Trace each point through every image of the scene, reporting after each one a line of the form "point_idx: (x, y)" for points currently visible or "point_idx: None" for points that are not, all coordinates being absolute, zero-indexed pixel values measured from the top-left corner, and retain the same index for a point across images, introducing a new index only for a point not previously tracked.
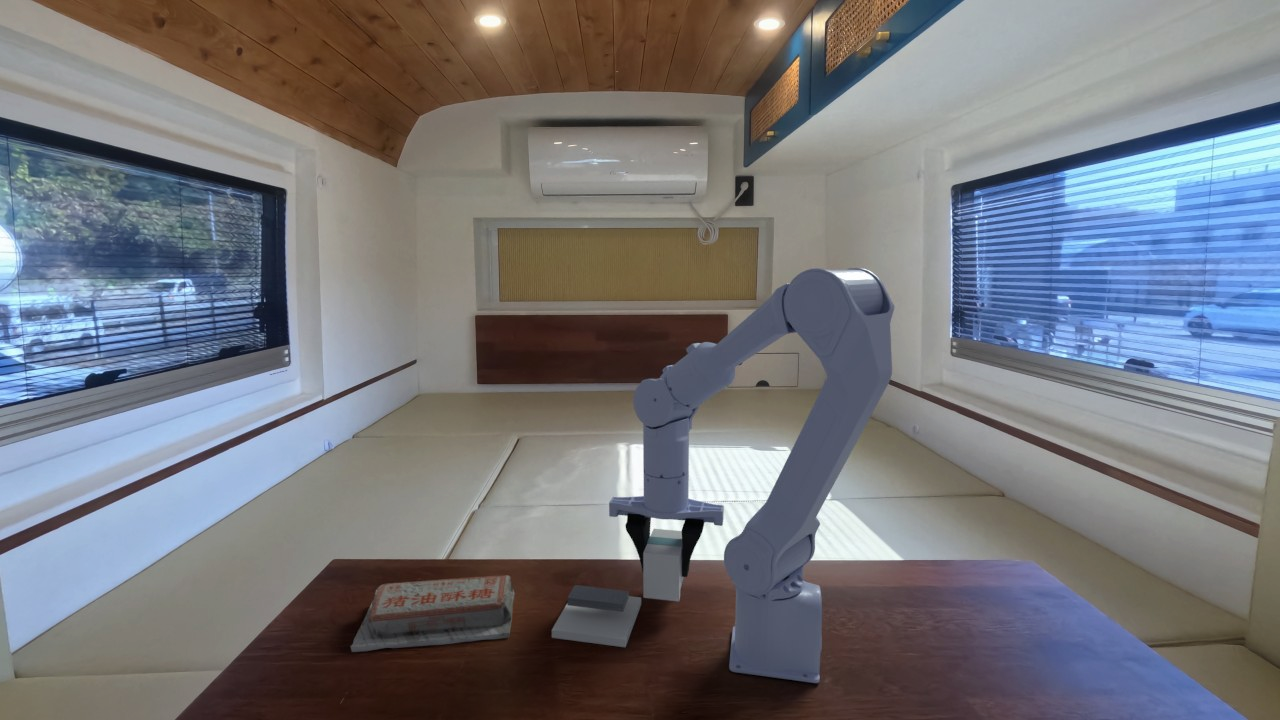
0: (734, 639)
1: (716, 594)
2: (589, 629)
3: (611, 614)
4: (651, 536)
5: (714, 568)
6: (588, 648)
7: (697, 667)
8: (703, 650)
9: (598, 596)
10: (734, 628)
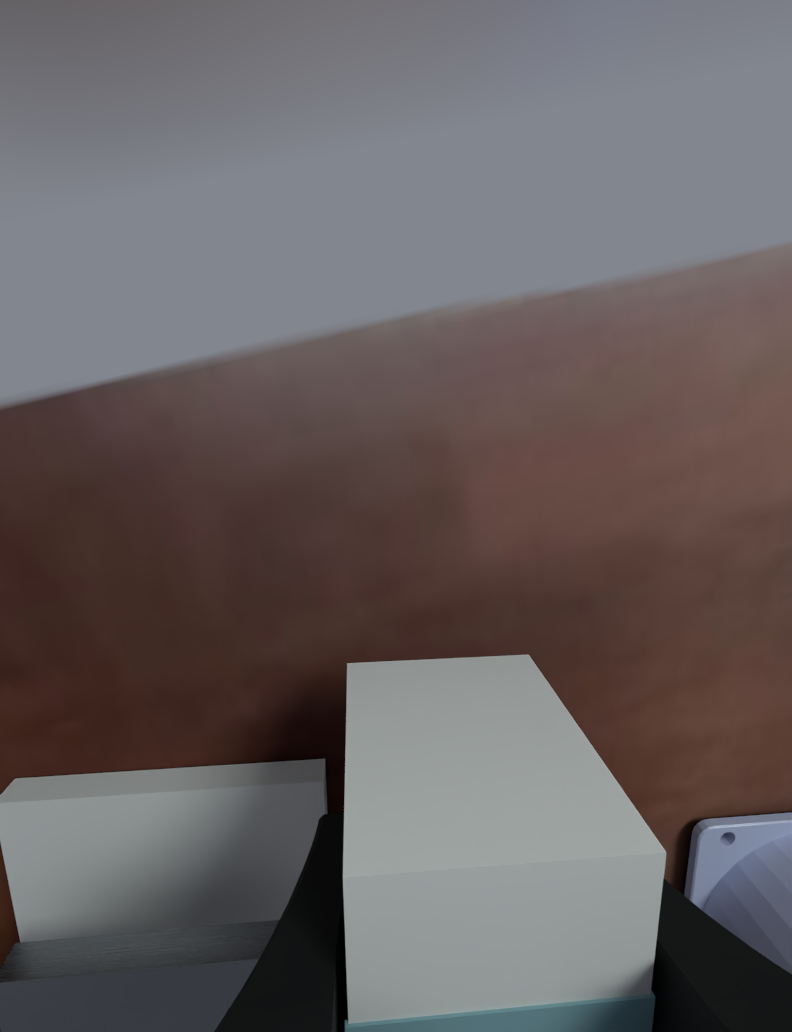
0: (700, 900)
1: (632, 606)
2: None
3: (234, 918)
4: (359, 1017)
5: (624, 370)
6: None
7: None
8: None
9: (154, 1029)
10: (704, 846)
